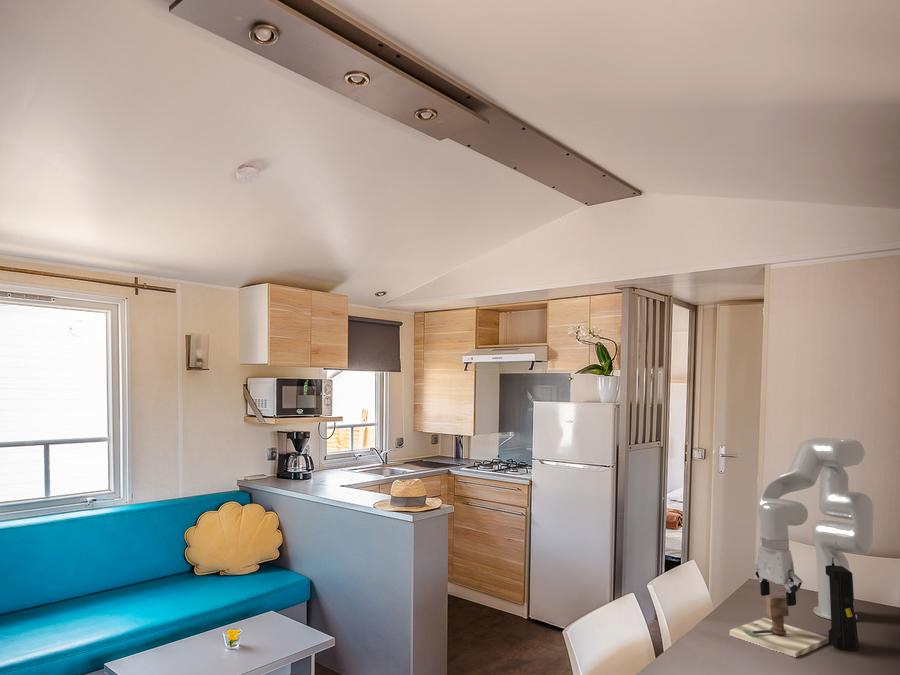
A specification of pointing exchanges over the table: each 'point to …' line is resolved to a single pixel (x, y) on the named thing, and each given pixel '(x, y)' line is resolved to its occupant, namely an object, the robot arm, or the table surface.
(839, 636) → the portable radio
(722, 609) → the table surface
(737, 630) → the dial board
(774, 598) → the tuning peg
